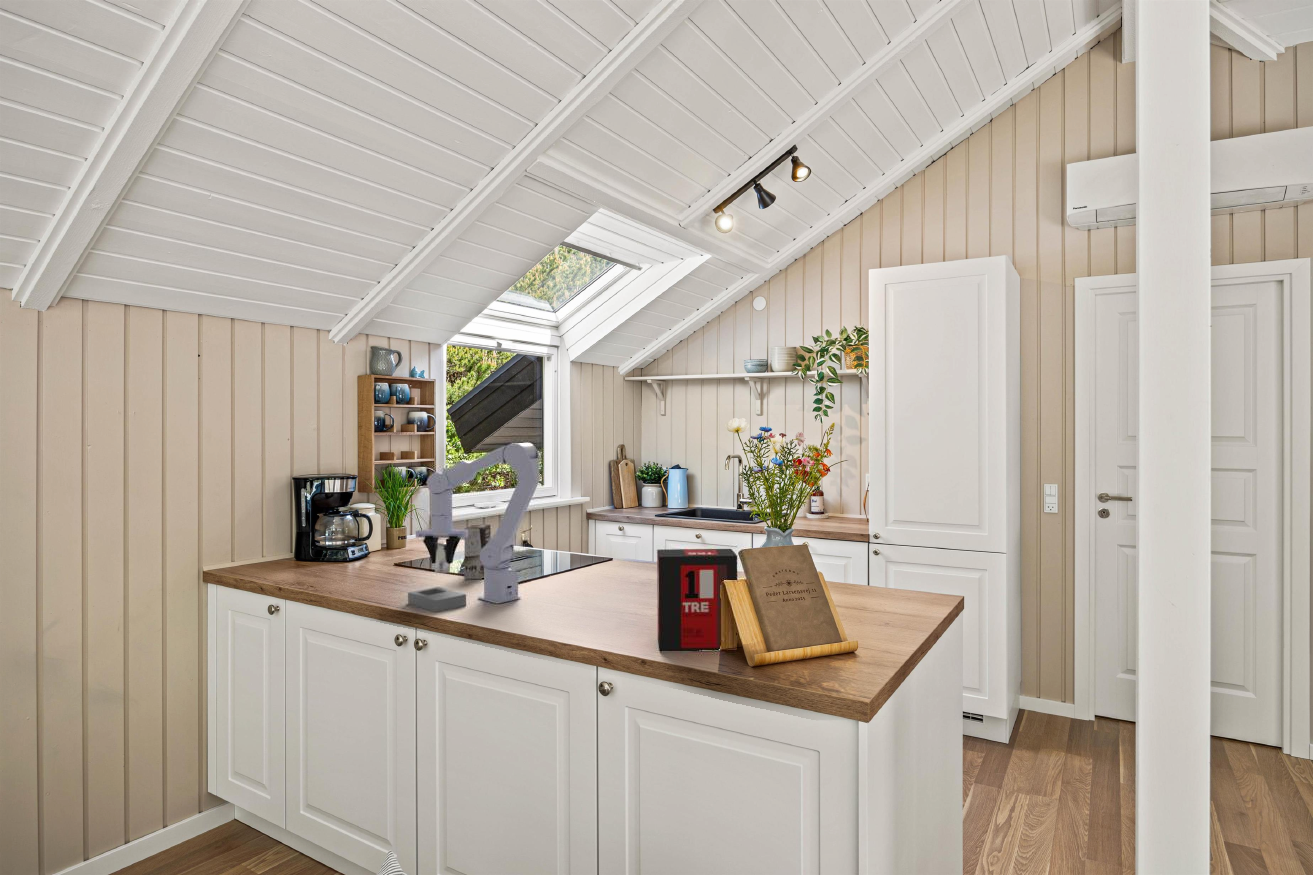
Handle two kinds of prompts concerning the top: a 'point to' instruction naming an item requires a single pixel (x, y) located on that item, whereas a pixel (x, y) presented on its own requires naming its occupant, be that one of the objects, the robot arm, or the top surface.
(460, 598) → the socket block
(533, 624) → the top surface
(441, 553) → the peg
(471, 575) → the coffee box
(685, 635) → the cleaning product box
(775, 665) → the top surface
